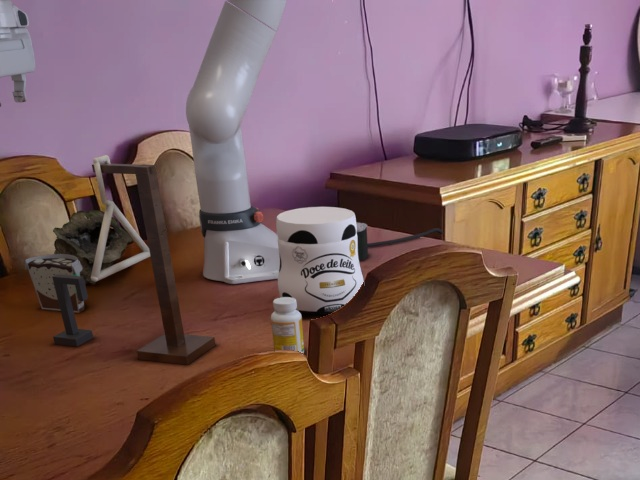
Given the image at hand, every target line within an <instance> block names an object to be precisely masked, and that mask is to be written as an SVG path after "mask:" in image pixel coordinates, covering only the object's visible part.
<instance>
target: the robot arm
mask: <svg viewBox="0 0 640 480" xmlns="http://www.w3.org/2000/svg"><path fill="white" fill-rule="evenodd" d="M287 2H288V0H225V1H224V3H223V6H222V8H221V10H220V14H219V16H218V19H217V22H216V24H215V26H214V29H213V31H212V34H211V37H210V39H209V43H208V45H207V48H206V51H205V54H204V56H203V58H202V61H201V64H200V67H199V70H198V72H197V75H196V77H195V79H194V82H193V86H191V88H190V89H189V92H188V94H187V97H186V102H185V116H186V121H187V124H188V129H189V135H190V144H191V150H192V159H193V166H194V175H195V180H196V187H197V194H198V202H199V211H198V214H199V215H198V218H199V226H200V233H201V235H202V237H203V245H204V247H203V249H204V254H203V255H204V258H203V259H204V261H203V271H202V276H203V278H206V279H208V280H211V281H217V282H218V281H219V282H224V283H225V284H230V285H237V284H245V283H253V282H254V283H255V282H261V281H269V280H270V281H271V280H278V274H279V268H280V255H279V248H278V236H277V232H275V231H273V230H272V229H270V228H269V227H267V226H266V225H264V224H262V223H263V221H264V215H263V213H262V211H261V210H260V209H259V207H254V206H253V205H251V195H250V187H249V178H248V171H247V162H246V156H245V149H244V148H245V147H244V140H243V133H242V132H243V131H242V122H243V119H244V117H245V115H246V112H247V109H248V107H249V104H250V101H251V98H252V97H253V93H254V90H255V87H256V85H257V82H258V79H259V76H260V73H261V70H262V69H263V66H264V63H265V62H266V58H267V56H268V54H269V51H270V49H271V47H272V44H273V42H274V40H275V37H276V34H277V32H278V30H279V27H280V25H281V21H282V19H283V15H284V13H285V9H286V6H287ZM28 27H30V19H29V15H28V14H27V12H25V11H24V10H22V9H20V8H19V7H17V6H16V5H15V4H14V3H13V2H12V0H0V78H5V77H11V81H12V82H13V91H12V92H11V93H12V96H13V101H14V102H15V103H26V102H27V101H28V99H27V93H26V89H27V88H26V87H27V76H26V74H31V73H34V72H35V71H36V57H35V51H34V47H33V42H32V37H31V34H30V31H29V30H28V29H27V28H28ZM1 107H2V102H0V108H1ZM433 233H439V234H440V235H443V234H445V233H444V231H443V230H442V229H441V228H439V227H436V228H435V227H434V228H431V229H429V230H427V231H425V232H420V233H416V234H413V235H409V236H405V237H400V238H395V239H388V240H384V241H377V242H376V241H375V242H370V243H367V246H368V248H373V247H378V246H385V245H392V244H398V243H402V242H406V241H411V240H414V239H415V240H416V239H418V238H423V237H426V236H429V235H431V234H433Z"/></svg>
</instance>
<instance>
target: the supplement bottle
mask: <svg viewBox="0 0 640 480" xmlns="http://www.w3.org/2000/svg"><path fill="white" fill-rule="evenodd" d="M272 307H273V310H274V311H273V312H272V313H271V314H270V325H271V333H272V341H273V342H272V344H273V351H274V350H294V351H299V352H301V353H303V354H304V353H305V341H304V330H303V329H304V328H303V317H302V313H300V312H299V311H297V310H295V309H296V308H297V303H296V299H294V298H291V297H281V298H280V297H277V298H274V299H273V301H272Z"/></svg>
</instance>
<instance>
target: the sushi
mask: <svg viewBox="0 0 640 480" xmlns="http://www.w3.org/2000/svg"><path fill="white" fill-rule="evenodd" d="M356 224H357V239H358V259H359V262H362V261H365V260H366V259H367V258H368V256H369V247H368V246H367V244H368V232H367V231H368V224H367V223H364V222H359V221H358V222H357V221H356Z"/></svg>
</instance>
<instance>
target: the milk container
mask: <svg viewBox="0 0 640 480" xmlns="http://www.w3.org/2000/svg"><path fill="white" fill-rule="evenodd" d="M275 223H276V224H275V226H276V227H275V228H276V234H277V236H278V248H279V255H280V268H279V274H278V279H277V290H278V294H279V298H281V297H291V298H294V299H296V303H297V308H296V309H295V310H297V311H299V312H300V314H304V315H315V316H317V315H331V314H330V313H332V312H334V311H336V310H338V309H340V308H341V307H342V306H344V305H345V304H346V303H348V302H349V301H350V300H351V299H352V298H353V297H354V296H355V294H356V293H357V292H358V290H359V289H360V287H361V285H362V284H363V282H364V283H365V277H364V274H363V270H362V266H361V264H360V261H359V259H358V239H357V224H356V223H357V218H356V214H355V212H354V211H353V210H350V209H347V208H343V207H335V206H308V207H299V208H294V209H289V210H286V211H283V212H280V213H279V214H278V215H277V216H276V221H275ZM332 314H333V313H332Z"/></svg>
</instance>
